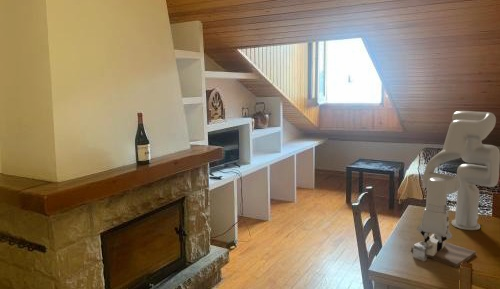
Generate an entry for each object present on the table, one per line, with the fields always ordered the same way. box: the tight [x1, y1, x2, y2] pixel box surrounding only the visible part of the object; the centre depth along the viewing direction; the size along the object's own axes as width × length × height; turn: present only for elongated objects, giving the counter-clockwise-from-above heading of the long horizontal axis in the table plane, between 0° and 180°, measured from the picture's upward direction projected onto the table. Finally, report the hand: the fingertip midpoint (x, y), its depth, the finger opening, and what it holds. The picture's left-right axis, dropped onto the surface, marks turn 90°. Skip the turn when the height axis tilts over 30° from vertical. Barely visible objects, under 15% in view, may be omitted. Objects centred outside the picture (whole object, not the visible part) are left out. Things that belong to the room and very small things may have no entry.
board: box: [410, 240, 477, 268], centre depth 163 cm, size 17×19×2 cm
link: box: [427, 234, 446, 256], centre depth 162 cm, size 13×5×4 cm, turn 137°
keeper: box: [412, 240, 433, 262], centre depth 159 cm, size 6×5×6 cm
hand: (432, 248), depth 162 cm, fingers closed on link, 4 cm apart
